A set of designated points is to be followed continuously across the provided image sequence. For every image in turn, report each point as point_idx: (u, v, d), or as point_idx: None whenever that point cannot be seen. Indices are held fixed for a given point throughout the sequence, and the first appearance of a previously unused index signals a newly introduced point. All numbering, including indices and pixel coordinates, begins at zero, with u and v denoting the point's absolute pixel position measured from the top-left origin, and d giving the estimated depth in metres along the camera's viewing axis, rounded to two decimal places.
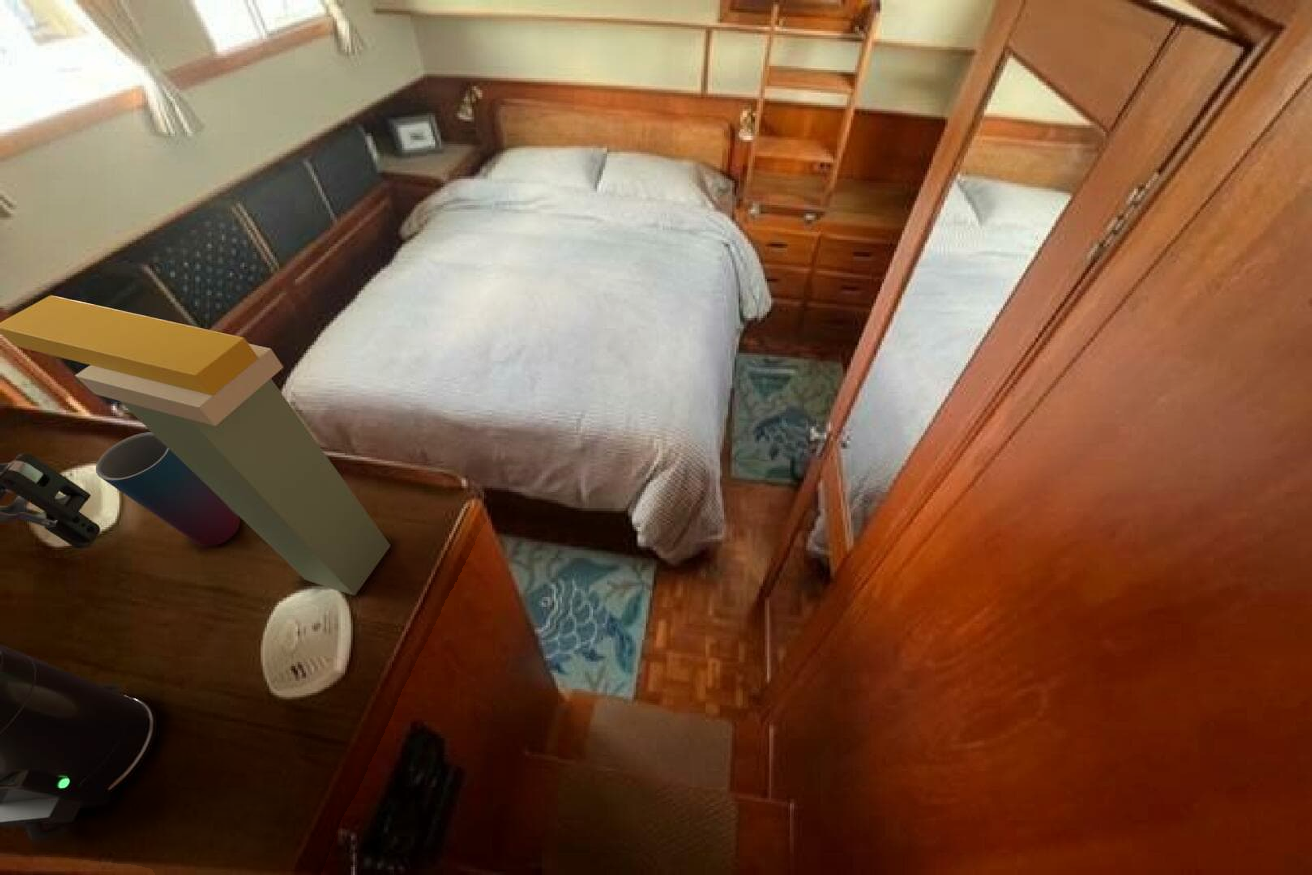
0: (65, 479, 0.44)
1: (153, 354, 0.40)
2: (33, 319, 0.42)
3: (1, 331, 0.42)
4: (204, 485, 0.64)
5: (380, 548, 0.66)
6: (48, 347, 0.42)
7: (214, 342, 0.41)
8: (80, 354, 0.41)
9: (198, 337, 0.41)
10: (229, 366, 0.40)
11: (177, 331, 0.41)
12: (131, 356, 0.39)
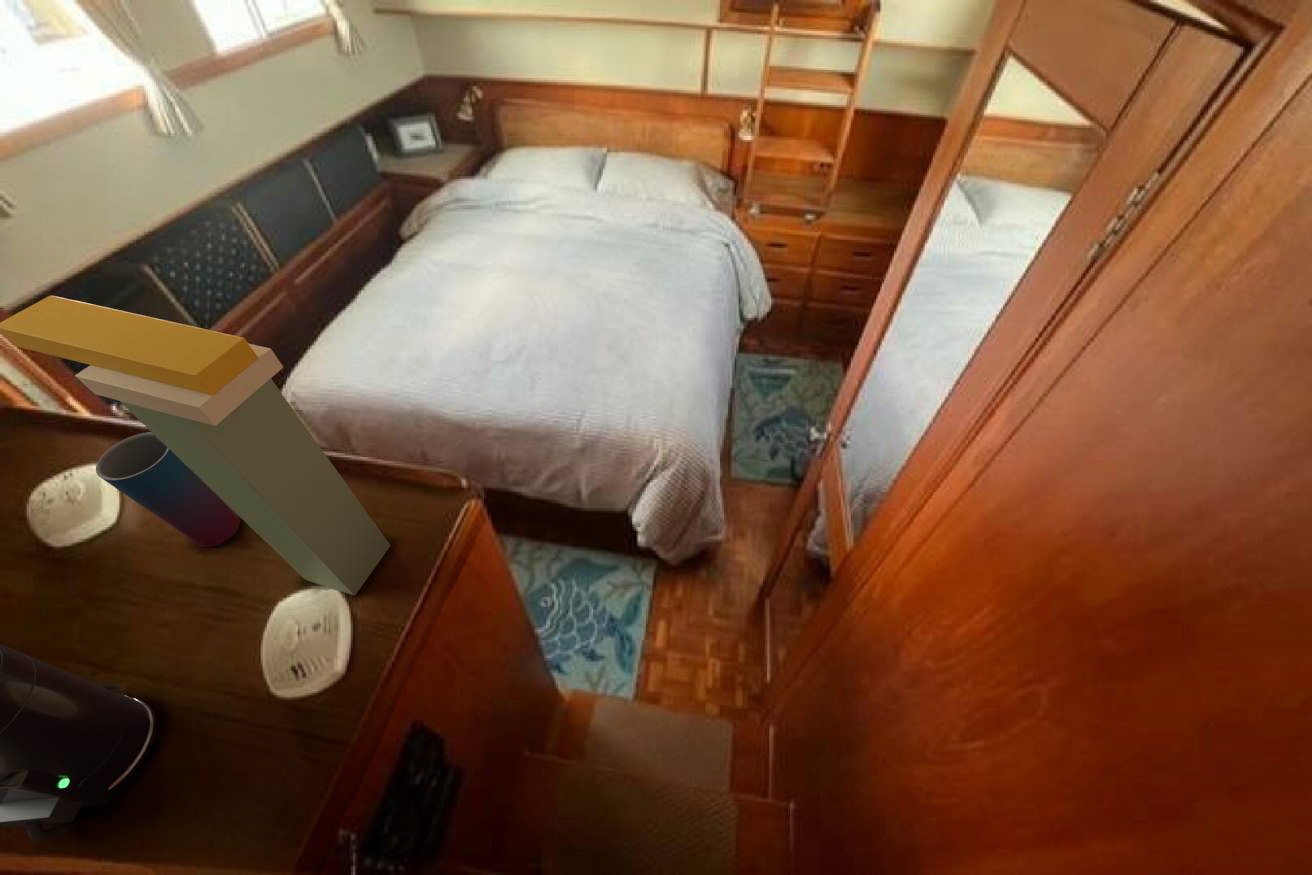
0: None
1: (153, 354, 0.40)
2: (33, 319, 0.42)
3: (1, 331, 0.42)
4: (204, 485, 0.64)
5: (380, 548, 0.66)
6: (48, 347, 0.42)
7: (214, 342, 0.41)
8: (80, 354, 0.41)
9: (198, 337, 0.41)
10: (229, 366, 0.40)
11: (177, 331, 0.41)
12: (131, 356, 0.39)
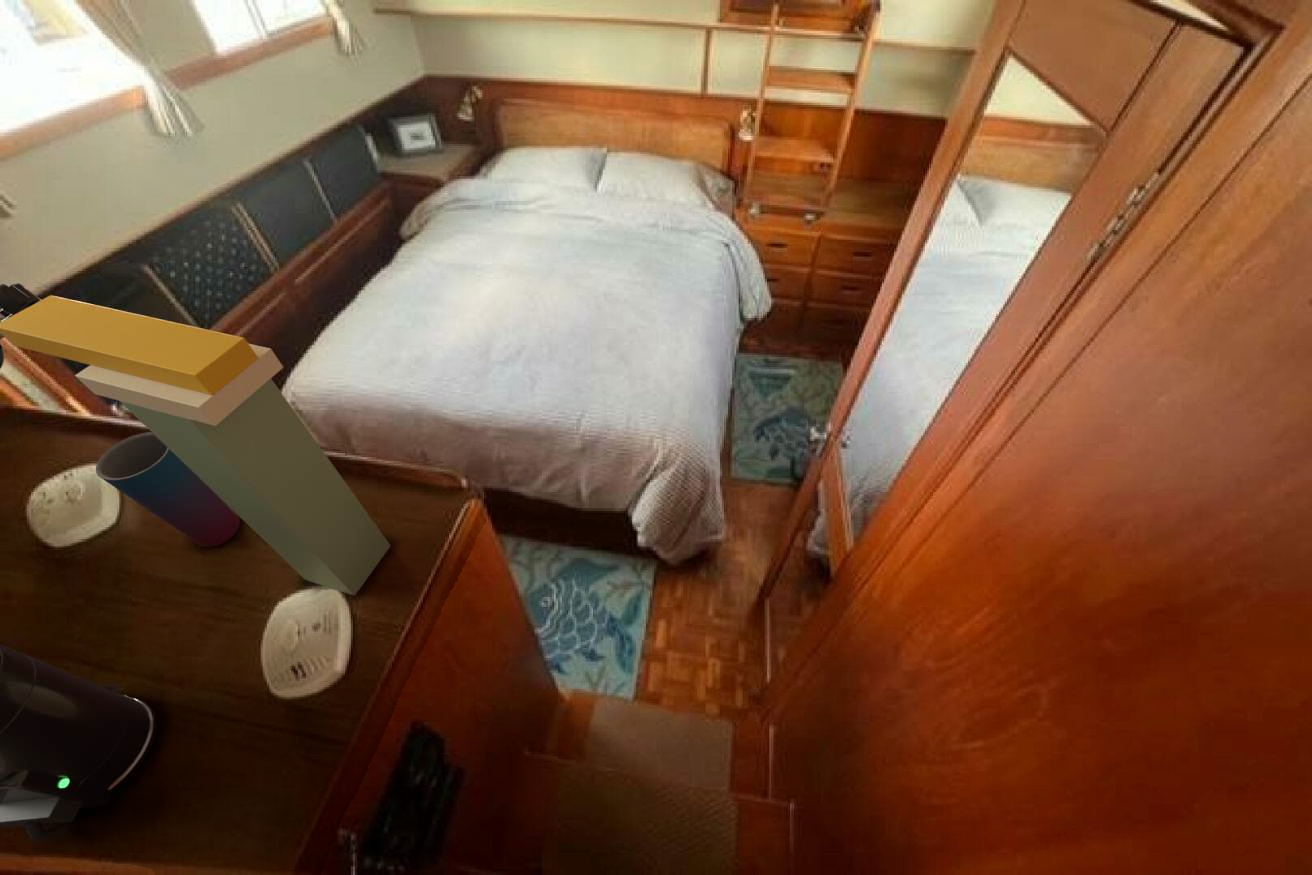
0: None
1: (153, 354, 0.40)
2: (33, 319, 0.42)
3: (1, 331, 0.42)
4: (204, 485, 0.64)
5: (380, 548, 0.66)
6: (48, 347, 0.42)
7: (214, 342, 0.41)
8: (80, 354, 0.41)
9: (198, 337, 0.41)
10: (229, 366, 0.40)
11: (177, 331, 0.41)
12: (131, 356, 0.39)
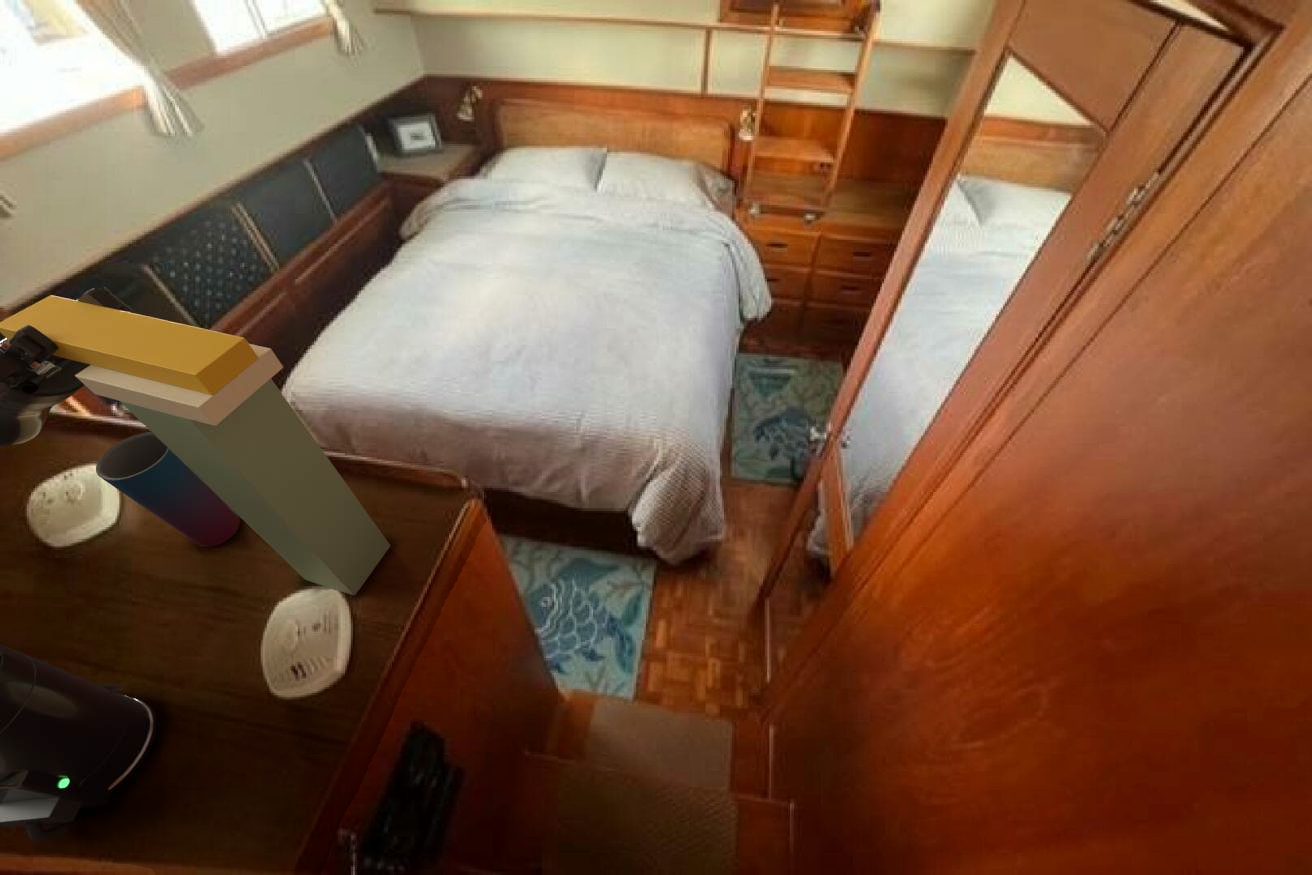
0: (130, 310, 0.50)
1: (154, 354, 0.40)
2: (33, 319, 0.42)
3: (1, 331, 0.42)
4: (204, 485, 0.64)
5: (380, 548, 0.66)
6: None
7: (214, 342, 0.41)
8: (80, 354, 0.41)
9: (198, 337, 0.41)
10: (229, 366, 0.40)
11: (177, 331, 0.41)
12: (131, 356, 0.39)
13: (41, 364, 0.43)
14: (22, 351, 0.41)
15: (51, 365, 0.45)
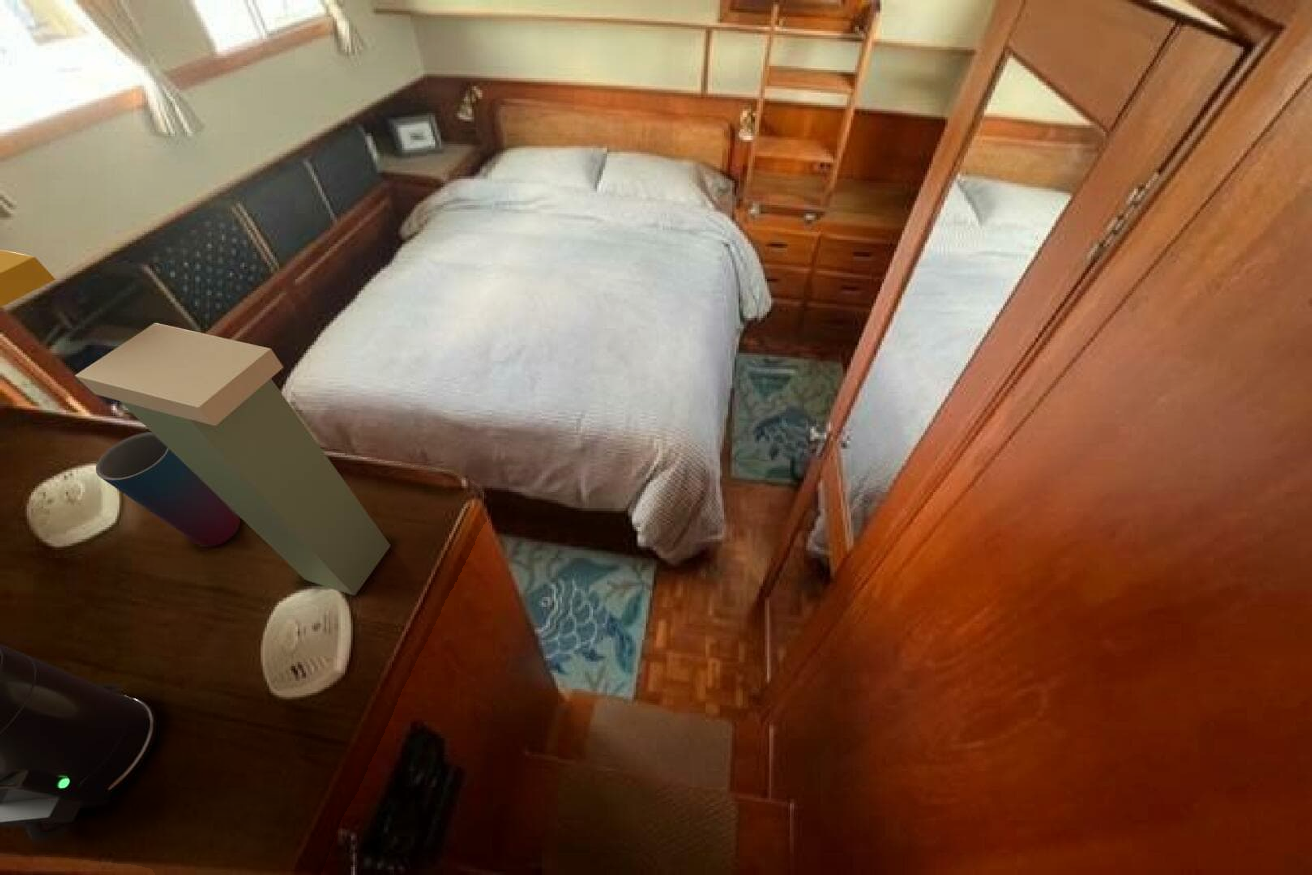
0: None
1: None
2: None
3: None
4: (204, 485, 0.64)
5: (380, 548, 0.66)
6: None
7: (2, 260, 0.41)
8: None
9: None
10: (16, 283, 0.41)
11: None
12: None
13: None
14: None
15: None
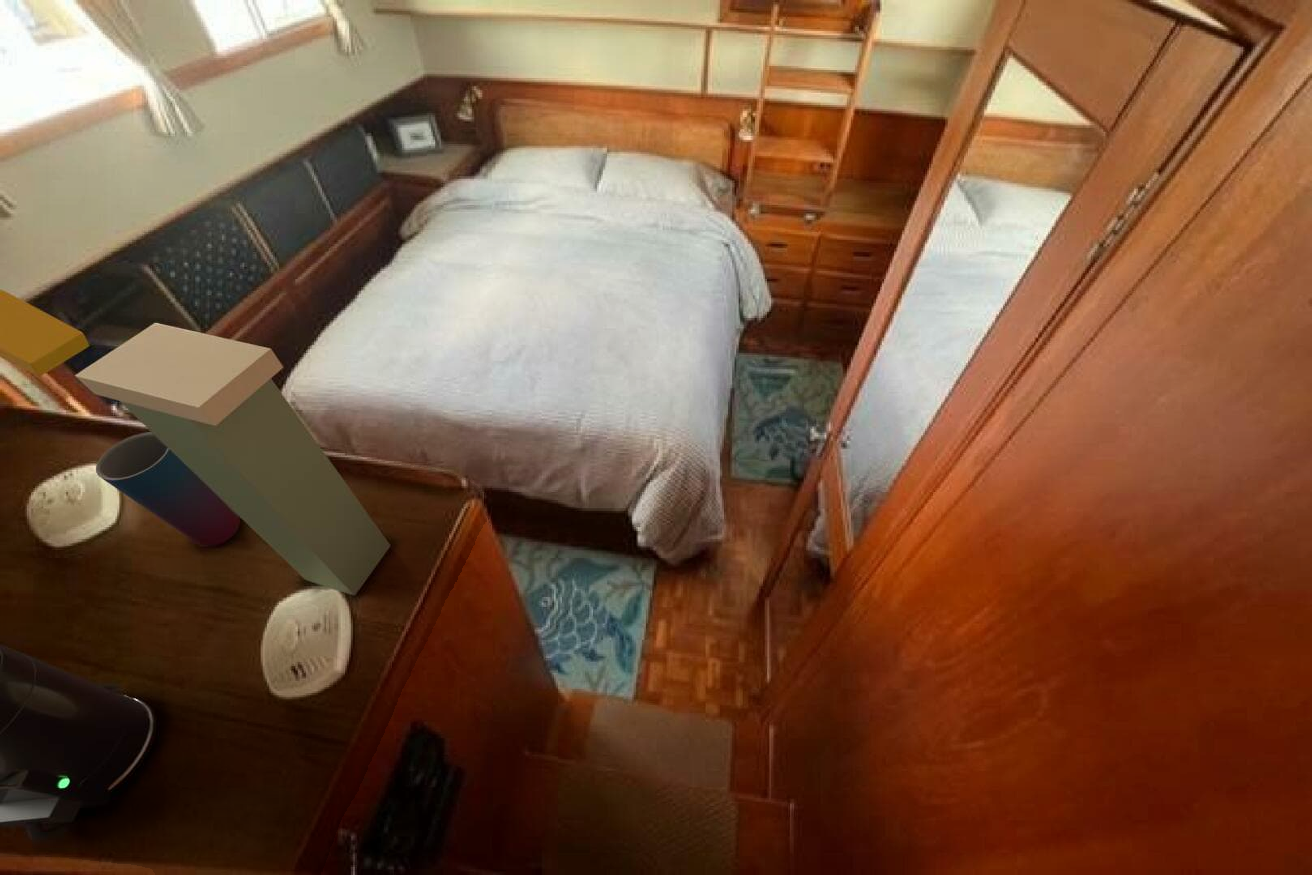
0: None
1: None
2: None
3: None
4: (204, 485, 0.64)
5: (380, 548, 0.66)
6: None
7: (49, 329, 0.47)
8: None
9: (30, 317, 0.46)
10: (62, 354, 0.47)
11: (5, 302, 0.46)
12: None
13: None
14: None
15: None
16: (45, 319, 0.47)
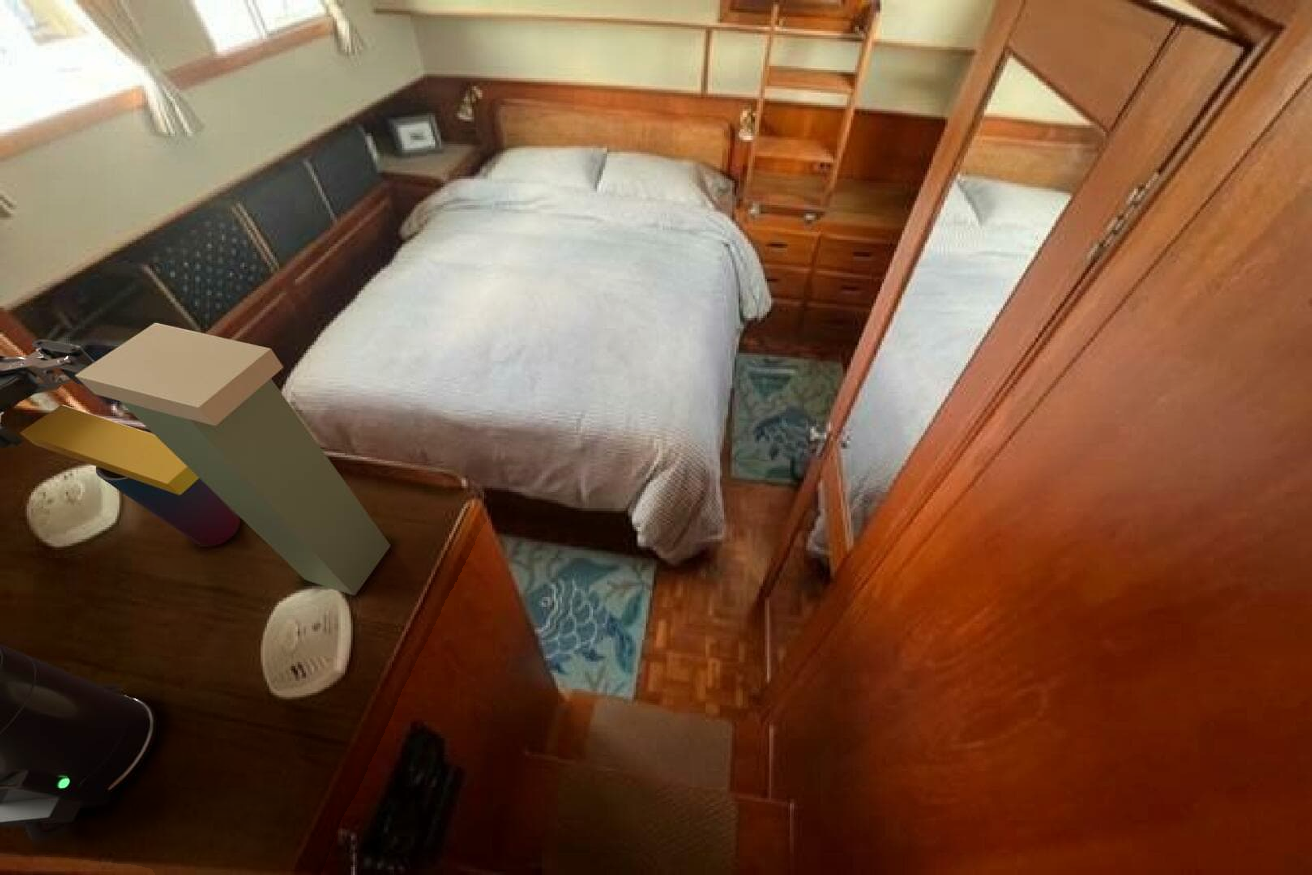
0: None
1: (137, 464, 0.55)
2: (49, 428, 0.57)
3: (25, 436, 0.57)
4: (204, 485, 0.64)
5: (380, 548, 0.66)
6: (60, 450, 0.57)
7: None
8: (84, 458, 0.56)
9: None
10: (193, 473, 0.55)
11: (156, 443, 0.56)
12: (121, 465, 0.54)
13: None
14: None
15: None
16: None
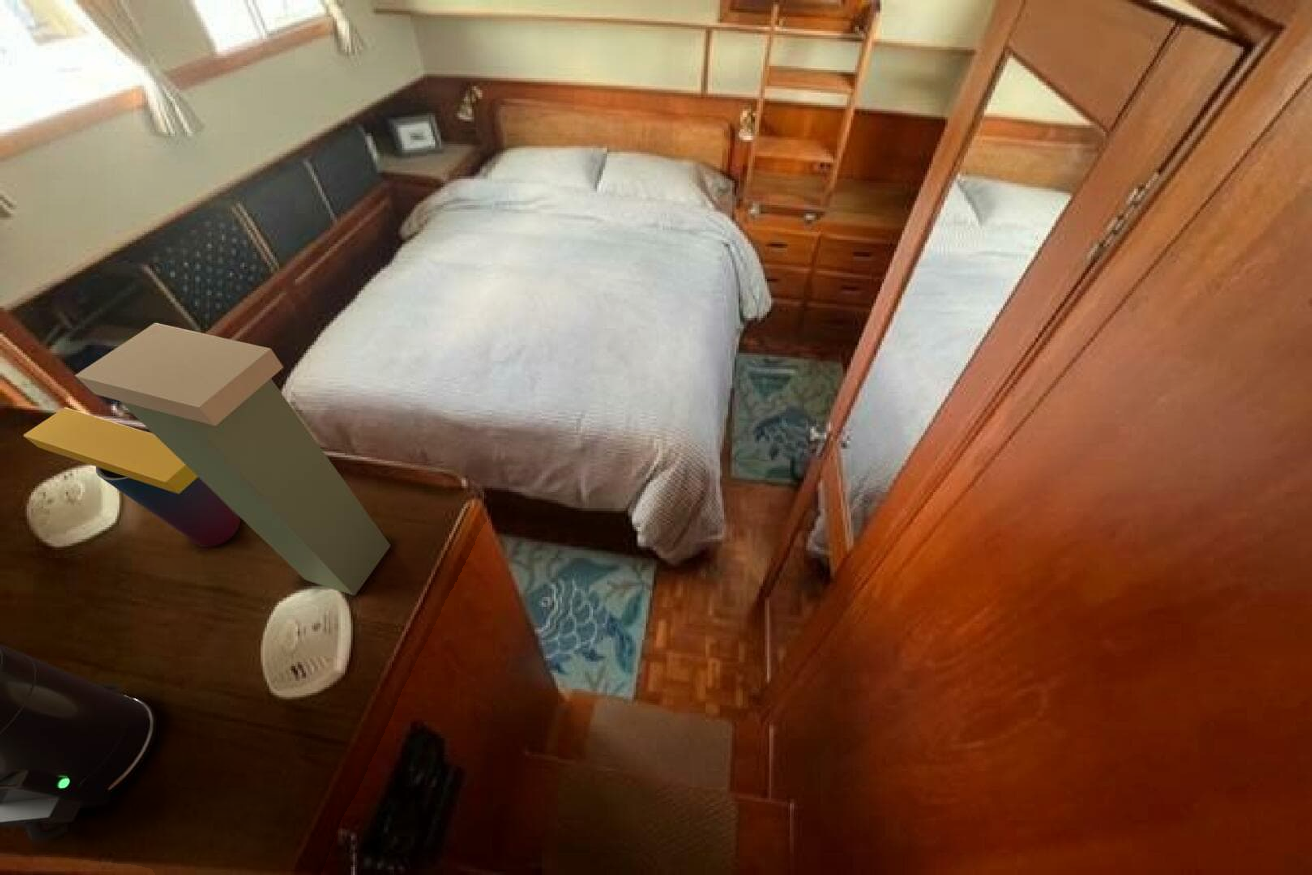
0: None
1: (137, 463, 0.55)
2: (51, 430, 0.58)
3: (28, 438, 0.57)
4: (204, 485, 0.64)
5: (380, 548, 0.66)
6: (62, 452, 0.57)
7: None
8: (85, 459, 0.56)
9: None
10: (191, 471, 0.55)
11: (155, 442, 0.56)
12: (121, 464, 0.54)
13: None
14: None
15: None
16: None
